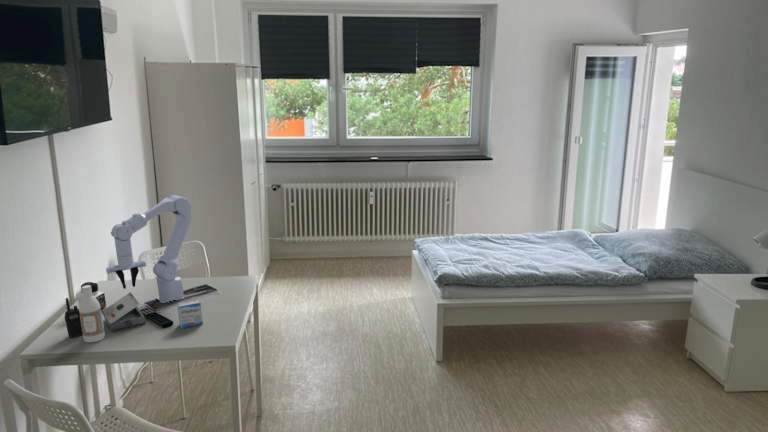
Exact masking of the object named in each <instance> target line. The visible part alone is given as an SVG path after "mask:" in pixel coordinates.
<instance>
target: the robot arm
mask: <svg viewBox="0 0 768 432" xmlns="http://www.w3.org/2000/svg"><path fill="white" fill-rule="evenodd" d="M192 207H193V205H192V202H191V201H190V200H189V198H187V197H185V196H179V195H177V194H171V195H169V196H167V197H165V198H163V199H162V200H161V201H160V202H158V203H156V205H154V206H152V207H151V208H149V209H148V210H146V211H145V212H143V213H139V212H138V213H133V214H132V216H131V217H129V218H128V219H126V220H123V221H121V223H118V224H115V225H114V226H113V227H112V229H111V231H110V235H111V236H112V237H113V238H114V246H115V253H116V259H117V265H113V266H110V267H106V268H105V271H106V274H107V275H110V274H112V273H115V274H116V275H117V277H118V279H119V280H120V283H121V285H122V288H123V290H124V289H126V288H127V285H126V281H125V273H124V271H128V270H130V271H129V272H130V276H131V285H132V287H133V288H135V287H136V281H137V276H138V274H139V272H140V269H139V268H142V267H144V268H145V267H146V268H147V262H146V261H145V260H141V261H134V254H133V249H132V241H131V238H132V236H133V234H135V233H136V232H138V231H139V230H141V229H143V228H144V227H146V226H147V225H148V222H149V221H150V220H152V219H154V218H156V217H158V216H159V215H162V214H163V213H165V212H172V213H173V215H174V216H175V219H176V220H175V223H174V226H173V228H172V229H173V230H172V232H171V234H170V237H169V239H168V242H167V244H166V247H165V250H164V253H163V254H162V255H161V256H160V257H159V258H158V261H157V262H156V263H155V264H154V265H153V268H152V271H153V274H154V276H156V284H157V291H158V296H157V297H156V300H157V299H158V300H159V301H160V302H161V303H163V304H166V302H167V303H170V302H169V301H172V302H174V301H173V300H176V301H180V300H183V299H185V297H184V296H185V295H184V289H183V282H182V278H181V277H180V276H177V274H178V267H179V264H178V260H177V259H178V256H179V253H180V251H181V248H182V245H183V242H184V240H185V237H186V234H187V232H188V229H189V227H190V225H191V221H192ZM158 300H157V301H158ZM159 301H158V302H159ZM160 302H159V303H160ZM161 303H160V304H161Z"/></svg>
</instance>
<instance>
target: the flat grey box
mask: <svg viewBox="0 0 768 432" xmlns="http://www.w3.org/2000/svg"><path fill="white" fill-rule="evenodd" d="M103 318H104V319H103V320H104V322H105V323H106V325H107V327H108V330H110V332H111V333H115V332H120V331H123V330H127V329H132V328H135V327H139V326H144V325H146V323H147V322H146V317H145V315H144V314H143V312H142V311H141V309H139V307H138V306H137V307H135V308H134V309H132V310H131V311H129V312H128V313H126V314H125V315H124V316H122V317H121V318H119V319H118V320H116V321H115V322H113V323H112V324H111V325H109V324H108V323H107V321H106V319H105V317H104V316H103Z"/></svg>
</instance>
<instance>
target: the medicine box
mask: <svg viewBox="0 0 768 432" xmlns="http://www.w3.org/2000/svg"><path fill="white" fill-rule="evenodd" d="M176 305H177V313H178V319H179V321H178V322H179V325H180V328H181V329H186V328H191V327H196V326H200V325H203V324H204V322H203V312H202V303H201V302H200V300H199V299H195V300H189V301H184V302H180V303H177V304H176Z"/></svg>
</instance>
